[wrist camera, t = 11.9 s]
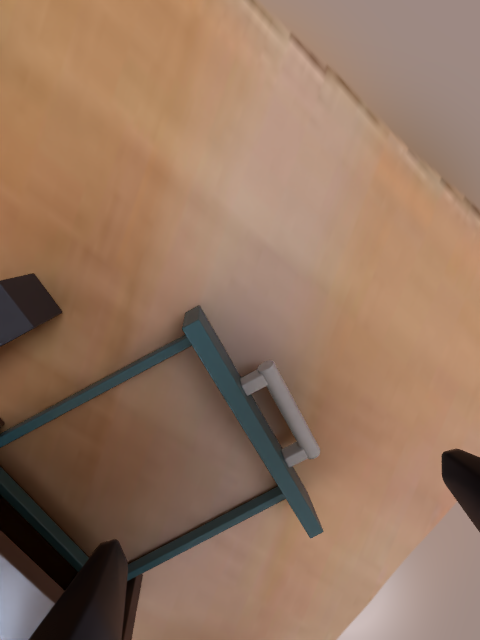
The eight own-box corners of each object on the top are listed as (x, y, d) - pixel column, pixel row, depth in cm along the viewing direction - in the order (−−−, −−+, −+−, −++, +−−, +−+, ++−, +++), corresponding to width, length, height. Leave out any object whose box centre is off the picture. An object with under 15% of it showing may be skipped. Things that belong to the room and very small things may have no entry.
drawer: (233, 286, 18) (240, 296, 15) (334, 477, 23) (355, 515, 20) (-43, 434, 19) (-92, 474, 16) (113, 592, 24) (99, 647, 20)
